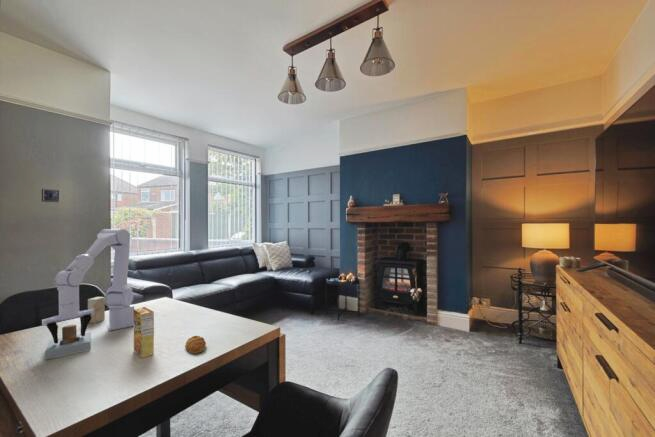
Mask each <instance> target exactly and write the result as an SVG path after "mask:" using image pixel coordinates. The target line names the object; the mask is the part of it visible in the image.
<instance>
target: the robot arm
mask: <svg viewBox="0 0 655 437" xmlns="http://www.w3.org/2000/svg"><path fill="white" fill-rule="evenodd" d="M96 238H97V239H95V241H94V242H93V243H92V244H91V246H90V247H89V248H88V249H87V250H86V252H85V253H83V254H79V255H77V256H75V259H74V260H73V261H72V262H71V263H70V264H69V265H68V266H66V268H65V269H64V270H61V271H59V272H58V273H57V274H56V275H55V277H54V279H53V283H54V285H55V287H56V290H57V291H58V315H53V316H51V317H48V318H44V319H41V326H43V327H45V326H46V328H47V329H48V331H49V332H50V334H51V337H52V340H54V343H55V344H56V343H58V339H59V337H58V331H59V326H58V323H60V322H65V321H70V320H74V319H79V322H80V334H81V336H85V333H87V328H88V326H89V324H90V323H89V322H90V320H91V318H92V316H91V315H94V310H93V309H90V310H88V309H84V310H80V285H81V283H83V281H84V276H85V275H86V272H87V271H89V269H90V268H92V266H93V265H94V264H95V258H96V257H97V256H98V255H99V254H100V253H101V252H102V251H103V250H104V249H105V248H106V247H107V246H109V247H111V249H113V250H114V258H113V270H112V282H111V286H110V287H108V288H107V289H106V294H105V296H104V297H105V298H104V303H105V306H107V308H108V310H109V311H108V312H109V313H108V316H109V317H108V319H109V321H108V322H109V324H108V325H107V327H108V331H109V332H111V331H115V330H120V329H124V328H129V327H134V311H133V310H134V309H135V305H134V304H132V303H133V301H134V294H133V288H132V287H131V286H129V285H128V273H129V259H130V248H131V247H130V238H131V234H130V232H129V230H127V229H125V228H119V229H117V228H116V229H115V228H110V229H108V228H103V229H101V231H99V233H97V234H96Z"/></svg>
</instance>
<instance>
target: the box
mask: <svg viewBox="0 0 655 437" xmlns="http://www.w3.org/2000/svg"><path fill="white" fill-rule="evenodd" d="M104 298H105V296H95V297H91V298H88V299H87V310H90V309H93V310H94V315H91V316H92V318H91V320H90V322H89V324H96V323H99V322H102V321H105V319H106V316H105V314H106V311H105V309H106V308H105V306H106V304H105V303H104Z"/></svg>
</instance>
